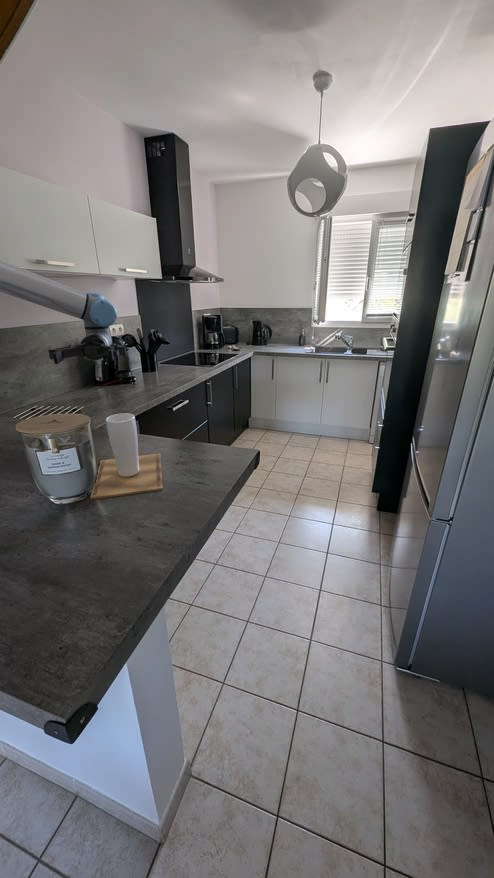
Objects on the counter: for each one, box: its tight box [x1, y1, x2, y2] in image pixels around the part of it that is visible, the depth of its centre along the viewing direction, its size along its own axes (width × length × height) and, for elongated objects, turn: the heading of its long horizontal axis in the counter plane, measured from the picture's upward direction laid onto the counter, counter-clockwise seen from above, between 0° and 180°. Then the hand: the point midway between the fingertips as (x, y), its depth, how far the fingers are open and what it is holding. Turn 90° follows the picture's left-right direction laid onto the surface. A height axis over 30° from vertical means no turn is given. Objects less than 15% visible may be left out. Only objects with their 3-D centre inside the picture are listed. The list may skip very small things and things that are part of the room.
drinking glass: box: [105, 412, 140, 477], centre depth 88 cm, size 7×7×15 cm
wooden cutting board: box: [89, 453, 164, 501], centre depth 91 cm, size 20×16×1 cm
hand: (83, 357), depth 93 cm, fingers open, 13 cm apart
